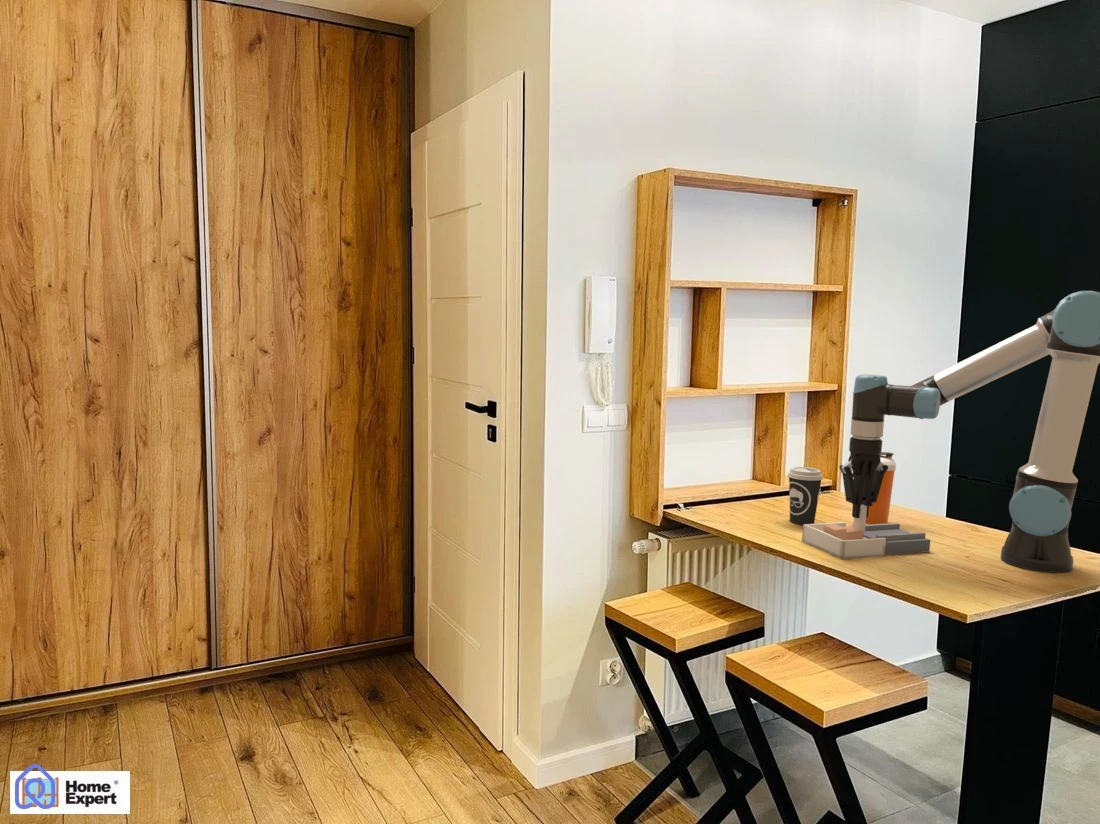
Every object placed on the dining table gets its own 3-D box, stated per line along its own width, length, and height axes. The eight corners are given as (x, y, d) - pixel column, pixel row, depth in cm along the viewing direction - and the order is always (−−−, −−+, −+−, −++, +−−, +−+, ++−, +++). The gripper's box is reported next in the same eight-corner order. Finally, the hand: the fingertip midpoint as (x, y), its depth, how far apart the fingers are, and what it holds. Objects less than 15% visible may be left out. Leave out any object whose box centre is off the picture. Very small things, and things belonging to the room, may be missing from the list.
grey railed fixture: (929, 551, 212) (930, 535, 211) (882, 554, 208) (884, 538, 207) (890, 536, 225) (891, 521, 225) (846, 539, 221) (847, 523, 220)
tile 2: (863, 542, 211) (863, 530, 210) (846, 544, 209) (846, 532, 209) (850, 536, 215) (850, 525, 215) (833, 539, 214) (833, 527, 213)
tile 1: (846, 528, 209) (836, 530, 208) (845, 548, 209) (835, 550, 208) (833, 523, 213) (823, 525, 212) (833, 543, 214) (823, 544, 213)
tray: (884, 556, 207) (886, 538, 206) (841, 559, 203) (842, 541, 202) (842, 538, 222) (844, 522, 221) (801, 541, 218) (803, 524, 217)
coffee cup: (821, 528, 232) (825, 474, 230) (785, 525, 234) (789, 471, 232) (817, 519, 241) (821, 467, 239) (783, 516, 243) (786, 465, 241)
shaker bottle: (896, 526, 236) (902, 455, 233) (863, 525, 236) (869, 454, 233) (884, 518, 245) (889, 450, 242) (852, 517, 245) (858, 449, 242)
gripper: (877, 434, 216) (870, 525, 219) (834, 435, 212) (827, 527, 215) (898, 439, 209) (890, 532, 212) (853, 440, 205) (846, 535, 207)
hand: (858, 530), depth 213 cm, fingers closed
